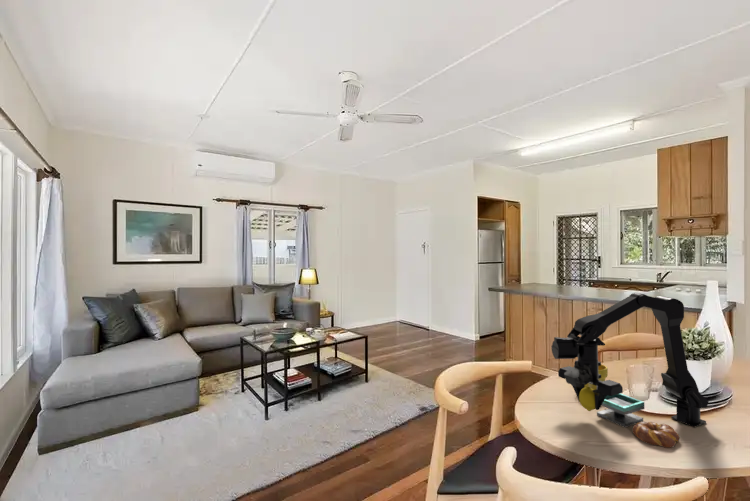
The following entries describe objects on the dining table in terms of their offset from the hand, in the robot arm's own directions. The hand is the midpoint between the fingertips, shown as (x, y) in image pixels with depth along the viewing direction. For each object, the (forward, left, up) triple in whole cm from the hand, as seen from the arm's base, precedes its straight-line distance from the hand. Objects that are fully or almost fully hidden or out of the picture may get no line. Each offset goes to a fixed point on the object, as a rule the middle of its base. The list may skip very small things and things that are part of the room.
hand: (588, 406), depth 118 cm
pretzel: (-7, +15, -5) cm, 18 cm away
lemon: (0, 0, -2) cm, 2 cm away
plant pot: (-21, -15, -5) cm, 27 cm away
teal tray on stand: (-9, +3, -5) cm, 11 cm away
